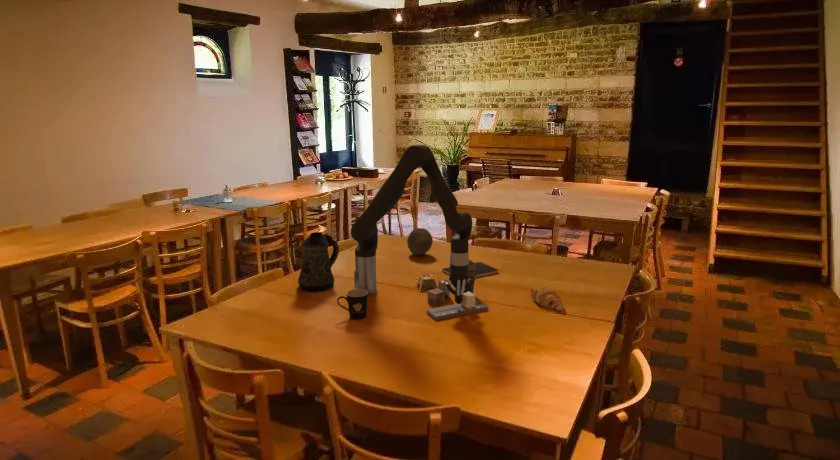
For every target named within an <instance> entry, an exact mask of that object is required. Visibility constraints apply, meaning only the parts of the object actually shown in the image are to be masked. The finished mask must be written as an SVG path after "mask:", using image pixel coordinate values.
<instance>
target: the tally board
mask: <svg viewBox="0 0 840 460" xmlns="http://www.w3.org/2000/svg"><path fill="white" fill-rule="evenodd" d="M488 307H489V306H488V305H486V304H485V303H483V302H482V301H480V300H478V299H475V307H471V308H465V307H464V306H462V305H461V304H457V303H455V304H449V305H443V306H439V307H438V306H437V307H434V308H433V307H432V308H428V309H426V314H427V315H429V316H430V317H431V318H432V319H434V320H435V321H439V320H444V319H449V318H454V317H459V316H464V315H469V314H473V313H478V312H483V311H484V312H485V311H488V310H489V308H488Z"/></svg>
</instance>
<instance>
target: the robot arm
mask: <svg viewBox="0 0 840 460" xmlns="http://www.w3.org/2000/svg"><path fill="white" fill-rule="evenodd" d="M419 168H421V170H422V171H423V173H425V176H426V177H427V178H428V180H429V184H430V187H431V192H432V195H433V198H434V199H435V201H436V203H437V204H438V207H440V209H441V210H442V215H443V217H444V220H445V223H446V226H447V228H449V230H450V231H452V232H454V233H455V234H454V235H453V236H452V237H451V239H450V253H449V254H450V255H449V267H450V275H449V278H448V282H447V283H446V282H445V283H444V285H445V286H446V288H447V289H448V290H449V291H450V293H451V294H452V295H453V296H454V302H455V304H461V303H462V301H463V294H464V293H467V291H468V290H469V288H470V287H471V285H472V284H473V282H474V283H475V281H473V280H472V279H470V278H469V275H468V273H469V260H470V257H469V256H470V255H469V242H470V237H471V234H472V230H473V229H472V228H473V219H472V215H471V214H470V213H469V212H467V211H461V212H458V211H457V207H458V205H459V202H458V200H457V198H456V196H455V194H454V192H453V191H452V190H451V188H450V186H449V185H448V183H447V182H446V180H445V178H444V175H443V173H442V171H441V168H440V167H439V165H438V163H437V160H436V157H435V155H434V153H433V151H432V149H431V148H430V147H429V146H428V145H426V144H417V143H416V144H415V143H414V144H411V145H409V146H408V147H406V148H405V150H404V151H403V154H402V155H401V156H400V159H399V161H398V162H397V164H396V166H395V168H394V169H393V171H392V172H391V173H390V175H389V176H388V177H387V178H386V180H385V181H384V182H383V184H382V185H381V186H380V188H379V190H378V191H377V192H376V194H375V196H374V197H373V198H372V199H371V201H370V203H369V204H368V206H367V207H366V209H364V212H362V214H361V215H360V216H359V217H358V218H357V220H355V221H354V223H353V224H352V225H351V227H350V228H351V229H350V235H351V237H352V239H353V240H354V241H356V242H358V244H357V246H356V247H355V249H354V263H355V264H354V267H355V270H354V271H353V277H354V280H353V283H354V289H363V290H367V291H368V296H369V295H373V294H376V293H377V292H378V291H377V290H378V284H377V280H378V279H377V250H378V243H379V242H378V241H379V239H378V237H379V230H378V225H377V223H378V222H379V221H380V220H381V219H382V218H384V217H385V216H386V215H388V213H389V212H390V211H391V210H392V209H394V207H395V206H396V205H397V204H398V203H399V201H400V199H402V197H403V195H404V192H405V191H406V190H405V189H406V185H407V182H408V180H409V178H410V177H411V176H412V174H414V172H416V170H417V169H419Z"/></svg>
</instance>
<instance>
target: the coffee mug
mask: <svg viewBox="0 0 840 460" xmlns="http://www.w3.org/2000/svg"><path fill="white" fill-rule="evenodd" d="M340 299H345V301H346V302H347V306H348V308H347V307H346V306H344V305H341V303H340V302H339V300H340ZM368 300H369V295H368V291H367V290H363V289H355V288H353V289H351V290H348V291H346V296H342V295H341V296H339V297H337V301H336V303H337V305H338V306H340V307H341V308H343V309H344V310H346V311H348V313H349V317H350V319H352V320H353V321H354V320H355V321H360V320H364V319H366V318H367V315H368V314H367V313H368V311H367V310H368V302H369V301H368Z"/></svg>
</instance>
